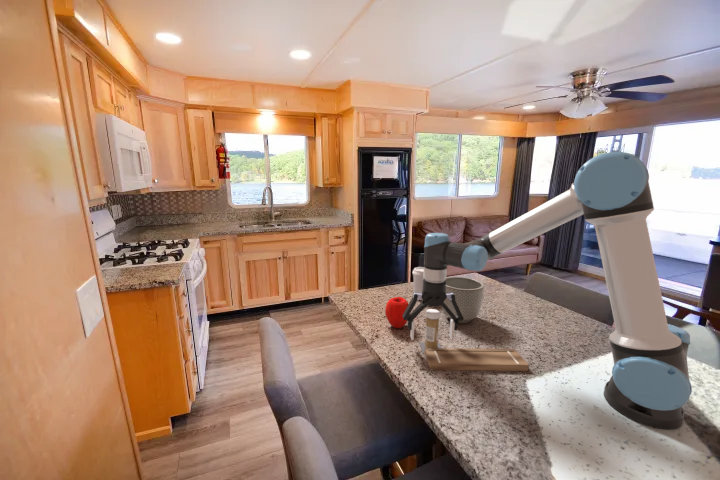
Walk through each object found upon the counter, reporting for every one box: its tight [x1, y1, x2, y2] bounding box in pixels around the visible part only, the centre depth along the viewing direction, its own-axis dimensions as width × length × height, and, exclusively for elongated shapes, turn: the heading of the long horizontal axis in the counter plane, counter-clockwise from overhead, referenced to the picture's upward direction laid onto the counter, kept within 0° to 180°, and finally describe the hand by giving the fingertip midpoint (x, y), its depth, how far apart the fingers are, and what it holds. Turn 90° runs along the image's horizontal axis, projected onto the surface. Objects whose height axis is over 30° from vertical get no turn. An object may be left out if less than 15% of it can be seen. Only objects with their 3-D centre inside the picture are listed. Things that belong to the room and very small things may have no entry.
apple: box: [384, 296, 409, 329], centre depth 122 cm, size 10×10×12 cm
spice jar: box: [424, 308, 441, 348], centre depth 105 cm, size 5×5×14 cm
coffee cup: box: [412, 266, 424, 301], centre depth 151 cm, size 10×10×15 cm
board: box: [424, 347, 530, 372], centre depth 99 cm, size 9×30×2 cm, turn 89°
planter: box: [440, 276, 485, 324], centre depth 128 cm, size 17×17×16 cm
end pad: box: [418, 341, 442, 355], centre depth 107 cm, size 7×7×1 cm
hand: (431, 338), depth 106 cm, fingers open, 13 cm apart
